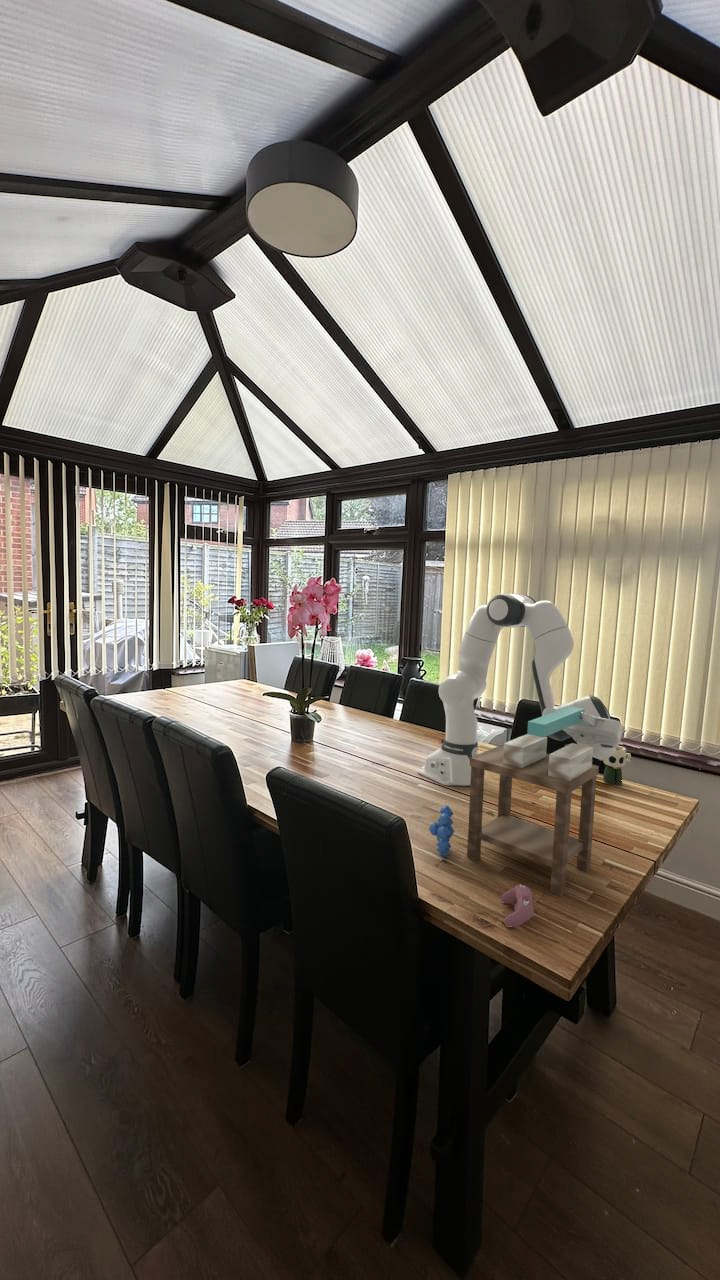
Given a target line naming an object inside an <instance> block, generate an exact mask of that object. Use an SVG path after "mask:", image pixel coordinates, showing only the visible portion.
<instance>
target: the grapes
mask: <svg viewBox="0 0 720 1280" xmlns="http://www.w3.org/2000/svg"><path fill="white" fill-rule="evenodd" d="M439 813H440V814H441V815H440V816H439V817H438V820H437V822H436V821H434V822H433V823H431V825H430V826H429V827H428V830H429V831H430V834H431V835H432V836H436V840H437V841H438V842H437V843H436V846H437V852H438V854H439V856H441V857H443V858H445V857H447V856H448V855H449V854H450V852H451V850H450V849H451V848H452V845H451V844H450V839H451V838H452V836H453V835H454V834H455V829H454V828H453V826H452V824H453V823H454V822H453V819H452V818H451V817H452V816H453V815H454V811H453V810H452V809H451V807H450V806H449V805H447V804H445V805H444V806H442V808H440V810H439Z"/></svg>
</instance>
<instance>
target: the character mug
mask: <svg viewBox="0 0 720 1280" xmlns="http://www.w3.org/2000/svg"><path fill="white" fill-rule="evenodd" d="M626 757H627V758H626ZM631 757H632V755H631V753H630V752H627V748H626V747H624V746H621V745H618V748H616V751H615V753H614V754H613V755H612V756H611V757H609V758H606V759H598V761H603V764H604V765H605V768H604V772H603V777H602V779H603V781H604V782H605V783H608V784H612V785H614V784H615V783H616V785H622V783H623V773H622V772H623V771H622V767H624V766H625V764H626V763H630V762H631ZM621 780H622V781H621Z"/></svg>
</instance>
